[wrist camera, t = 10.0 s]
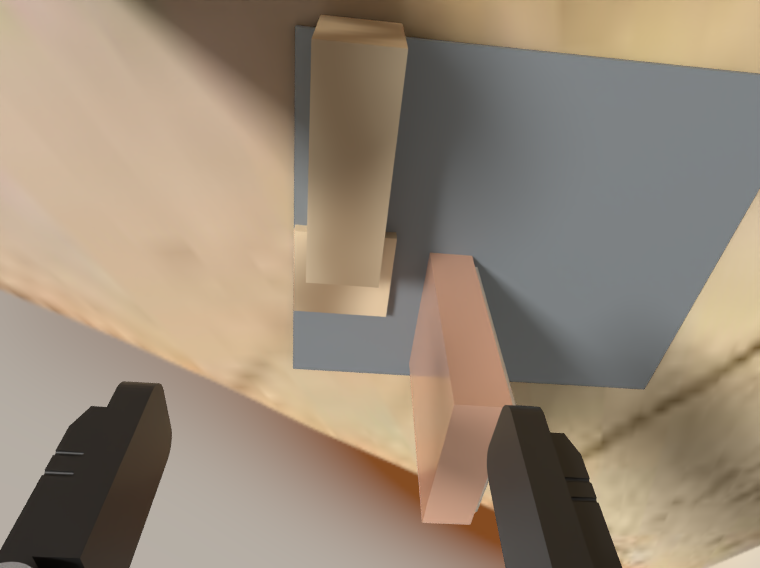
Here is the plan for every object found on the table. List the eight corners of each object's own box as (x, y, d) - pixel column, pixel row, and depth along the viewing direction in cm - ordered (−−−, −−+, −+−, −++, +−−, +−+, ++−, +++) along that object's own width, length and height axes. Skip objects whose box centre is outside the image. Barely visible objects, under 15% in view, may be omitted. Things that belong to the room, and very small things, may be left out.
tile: (477, 256, 28) (521, 408, 20) (450, 366, 33) (476, 524, 24) (429, 252, 28) (454, 404, 20) (409, 363, 32) (422, 522, 24)
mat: (815, 79, 23) (820, 81, 23) (642, 385, 34) (644, 389, 34) (295, 25, 21) (295, 26, 21) (293, 365, 33) (293, 368, 32)
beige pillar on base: (425, 25, 21) (435, 51, 18) (385, 309, 30) (387, 361, 27) (297, 12, 21) (283, 35, 18) (294, 303, 29) (285, 355, 26)
